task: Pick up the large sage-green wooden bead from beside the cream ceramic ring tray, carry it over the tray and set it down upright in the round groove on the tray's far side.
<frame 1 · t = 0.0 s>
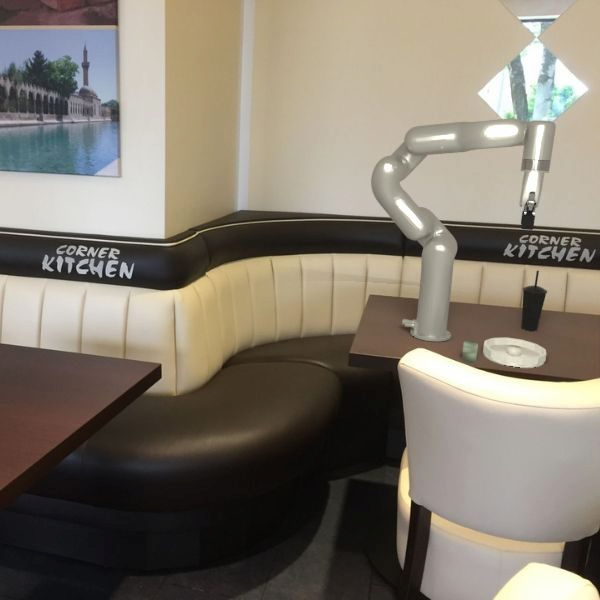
hand: (526, 227, 173), 37 cm above the table, tool pointing down, fingers open, 9 cm apart
bead: (468, 360, 170), on the table
drinking cup: (528, 329, 201), on the table
ring tray: (513, 357, 174), on the table
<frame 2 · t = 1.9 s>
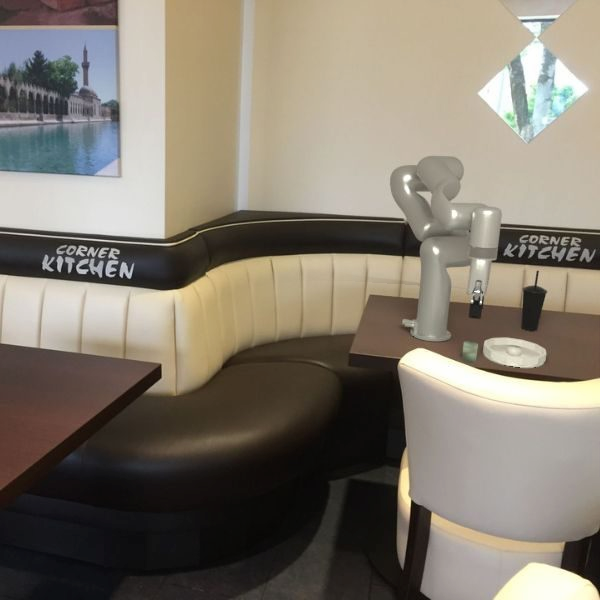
hand: (475, 313, 166), 14 cm above the table, tool pointing down, fingers open, 9 cm apart
nothing on the table moved.
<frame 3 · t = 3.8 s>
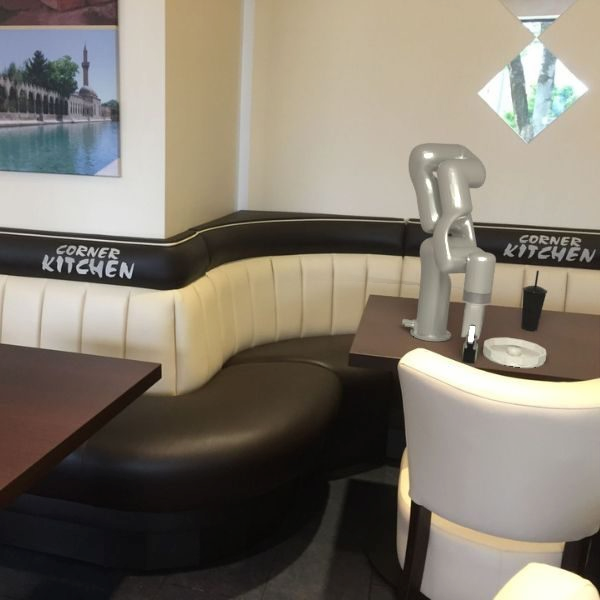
hand: (469, 358, 170), 1 cm above the table, tool pointing down, fingers closed on bead, 4 cm apart
bead: (468, 360, 170), on the table, touching gripper
everything else where it was.
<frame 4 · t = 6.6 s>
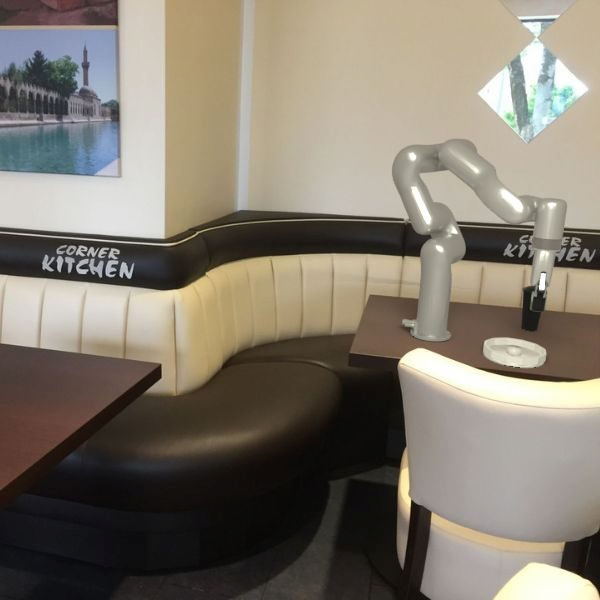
hand: (537, 308, 168), 16 cm above the table, tool pointing down, fingers closed on bead, 4 cm apart
bead: (537, 309, 168), point 15 cm above the table, touching gripper
everything else where it was.
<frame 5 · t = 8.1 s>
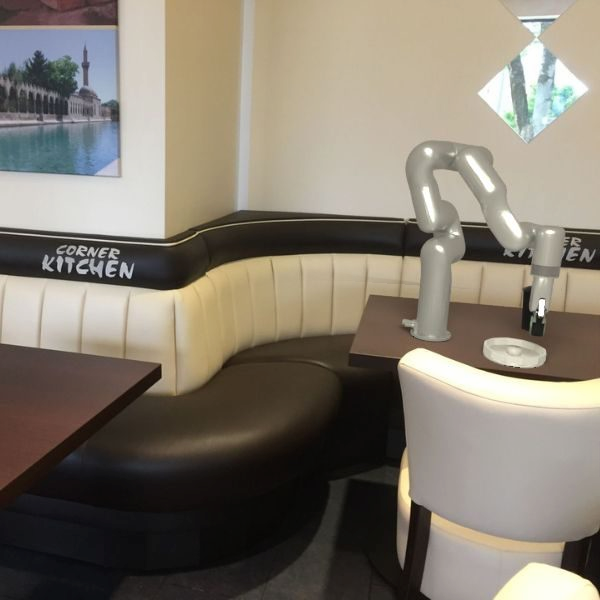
hand: (536, 332, 170), 8 cm above the table, tool pointing down, fingers closed on bead, 4 cm apart
bead: (536, 334, 170), point 8 cm above the table, touching gripper
everything else where it was.
when the fingers open (3 cm above the table, at t = 9.4 s): bead drops 1 cm, resting on ring tray.
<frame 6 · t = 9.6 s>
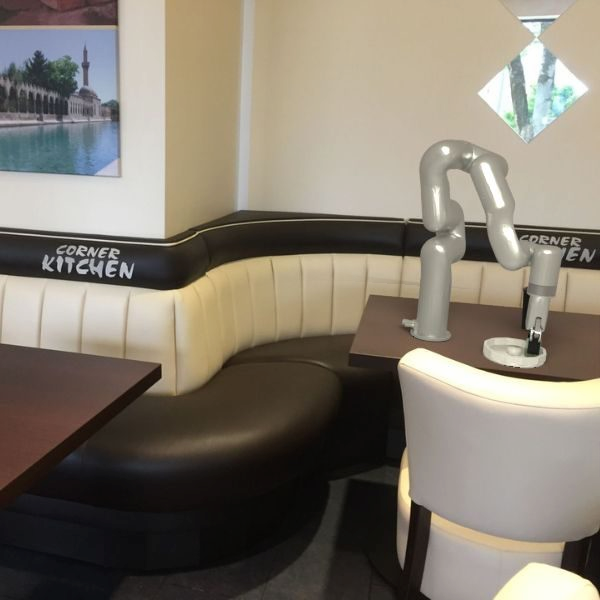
hand: (532, 349, 172), 3 cm above the table, tool pointing down, fingers open, 5 cm apart
bead: (531, 356, 172), point 1 cm above the table, touching ring tray
everything else where it was.
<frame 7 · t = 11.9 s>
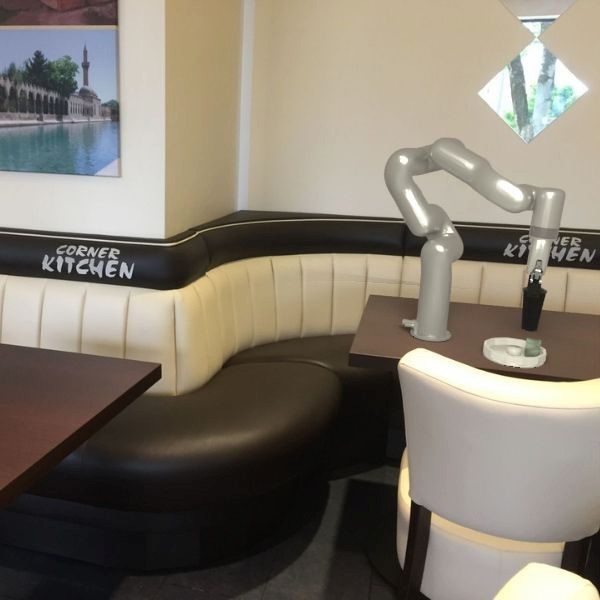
hand: (532, 292, 170), 19 cm above the table, tool pointing down, fingers open, 9 cm apart
nothing on the table moved.
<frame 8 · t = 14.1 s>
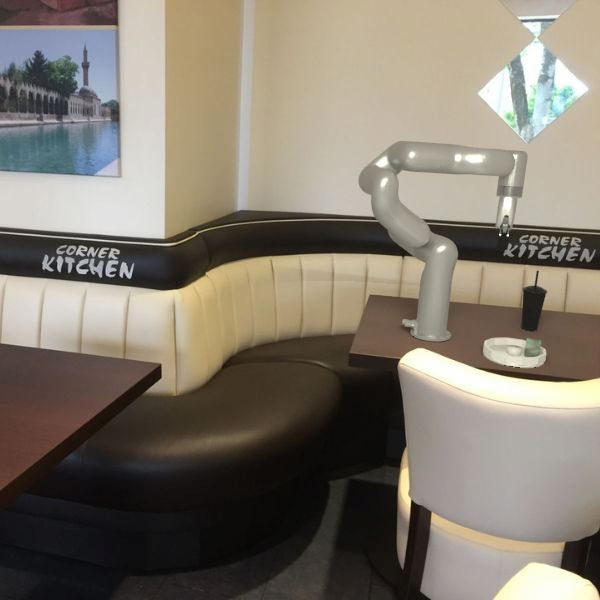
hand: (502, 247, 188), 28 cm above the table, tool pointing down, fingers open, 9 cm apart
nothing on the table moved.
at the end: bead 0.1 cm from the target spot on the ring tray, point 1.0 cm above the ring tray's base; bead tilted 0°; the gripper is holding nothing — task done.
